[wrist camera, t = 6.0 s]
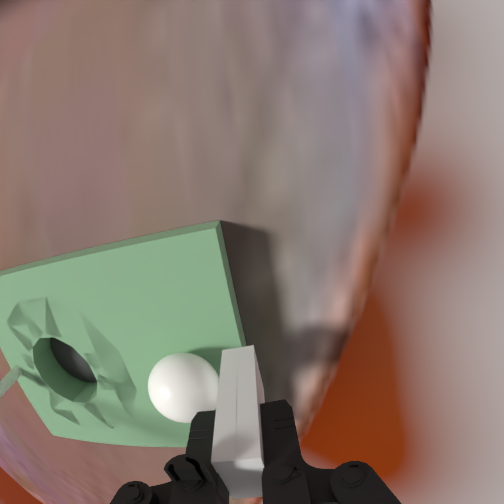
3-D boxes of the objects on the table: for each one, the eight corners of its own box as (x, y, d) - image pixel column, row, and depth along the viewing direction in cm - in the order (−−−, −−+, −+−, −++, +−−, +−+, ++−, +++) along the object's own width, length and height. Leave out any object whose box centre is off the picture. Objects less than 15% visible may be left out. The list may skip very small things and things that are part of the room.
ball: (169, 393, 15) (156, 437, 12) (148, 342, 14) (127, 384, 11) (229, 388, 15) (227, 434, 12) (214, 335, 14) (206, 379, 11)
